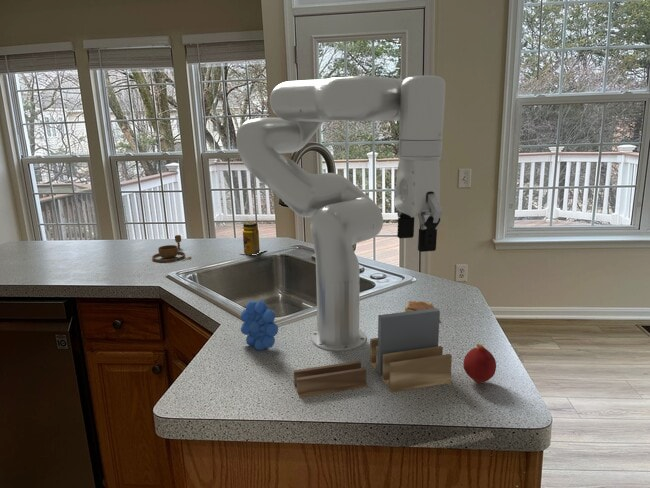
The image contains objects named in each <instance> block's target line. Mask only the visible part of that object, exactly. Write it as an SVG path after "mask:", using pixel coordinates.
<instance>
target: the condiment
mask: <svg viewBox="0 0 650 488" xmlns="http://www.w3.org/2000/svg"><path fill="white" fill-rule="evenodd" d="M242 225H243V226H242V228H243V230H242V242H243V253H244V254H247V255H246V256H249V255H252V254H257V253H259V251H260V250H261V249H260V234H259V228H258V224H257V222H256V221H255V222H254V221H252V222H251V221H250V222H249V221H248V222H244V223H242Z"/></svg>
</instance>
